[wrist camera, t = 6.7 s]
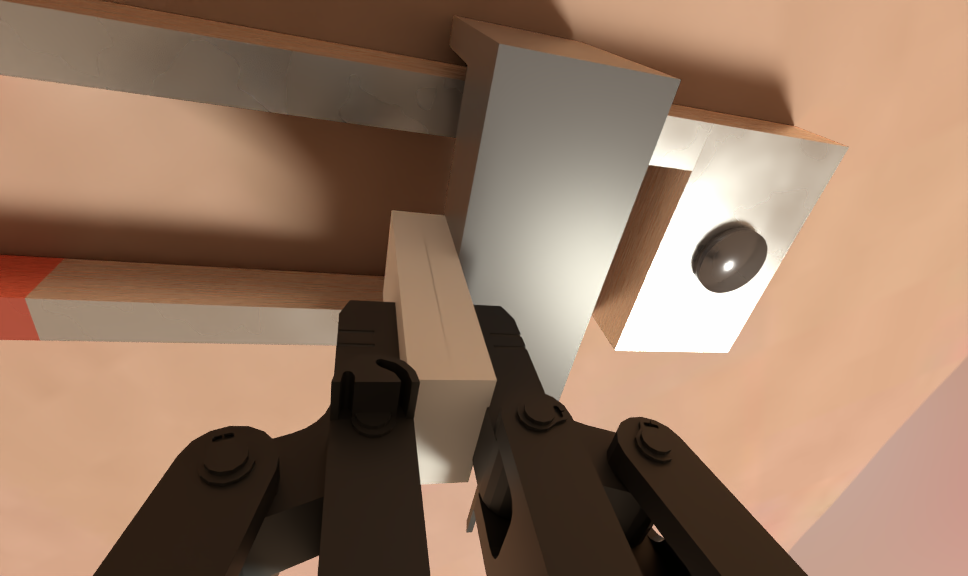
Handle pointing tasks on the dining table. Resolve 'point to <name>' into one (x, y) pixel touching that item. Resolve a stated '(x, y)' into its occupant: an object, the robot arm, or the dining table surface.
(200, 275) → the red-tipped stick
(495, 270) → the grey rectangular block
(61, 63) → the base
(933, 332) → the dining table surface
